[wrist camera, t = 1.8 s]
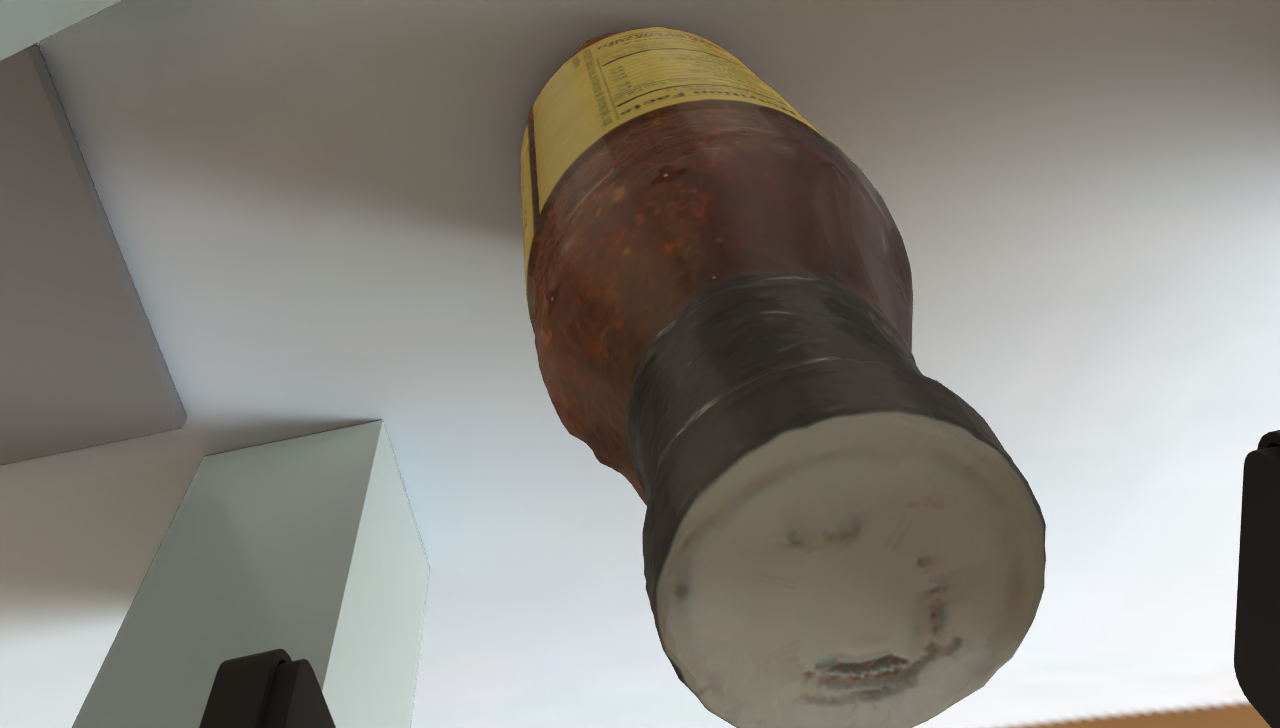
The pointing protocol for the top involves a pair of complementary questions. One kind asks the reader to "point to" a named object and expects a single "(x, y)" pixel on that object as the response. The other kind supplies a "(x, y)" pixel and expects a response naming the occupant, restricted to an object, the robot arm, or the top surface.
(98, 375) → the plate
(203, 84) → the top surface
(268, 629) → the canister
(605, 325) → the sauce bottle
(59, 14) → the canister
